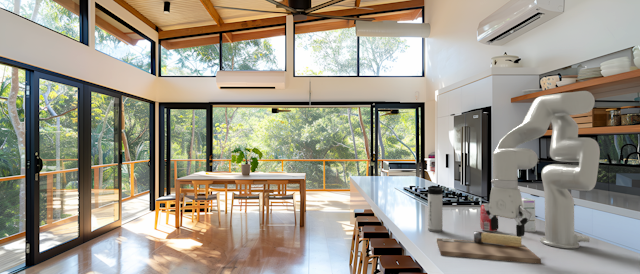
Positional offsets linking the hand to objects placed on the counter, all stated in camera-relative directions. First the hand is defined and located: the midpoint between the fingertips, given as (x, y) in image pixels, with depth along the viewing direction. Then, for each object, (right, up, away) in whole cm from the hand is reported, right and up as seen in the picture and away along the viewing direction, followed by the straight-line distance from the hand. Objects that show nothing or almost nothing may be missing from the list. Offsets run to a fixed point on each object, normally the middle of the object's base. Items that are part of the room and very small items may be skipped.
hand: (507, 232), depth 118 cm
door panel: (-7, -8, +3) cm, 11 cm away
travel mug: (-14, -9, +34) cm, 38 cm away
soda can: (+11, -9, +35) cm, 38 cm away
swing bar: (0, -6, +6) cm, 9 cm away
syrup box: (+29, -10, +36) cm, 48 cm away
